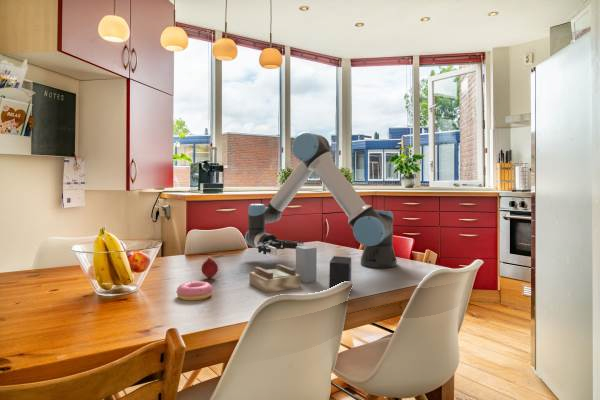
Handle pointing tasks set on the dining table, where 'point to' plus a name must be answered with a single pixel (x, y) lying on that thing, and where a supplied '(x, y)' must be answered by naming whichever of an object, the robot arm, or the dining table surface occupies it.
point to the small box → (339, 270)
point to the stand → (275, 278)
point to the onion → (209, 268)
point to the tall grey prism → (306, 263)
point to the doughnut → (194, 290)
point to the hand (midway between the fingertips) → (291, 250)
